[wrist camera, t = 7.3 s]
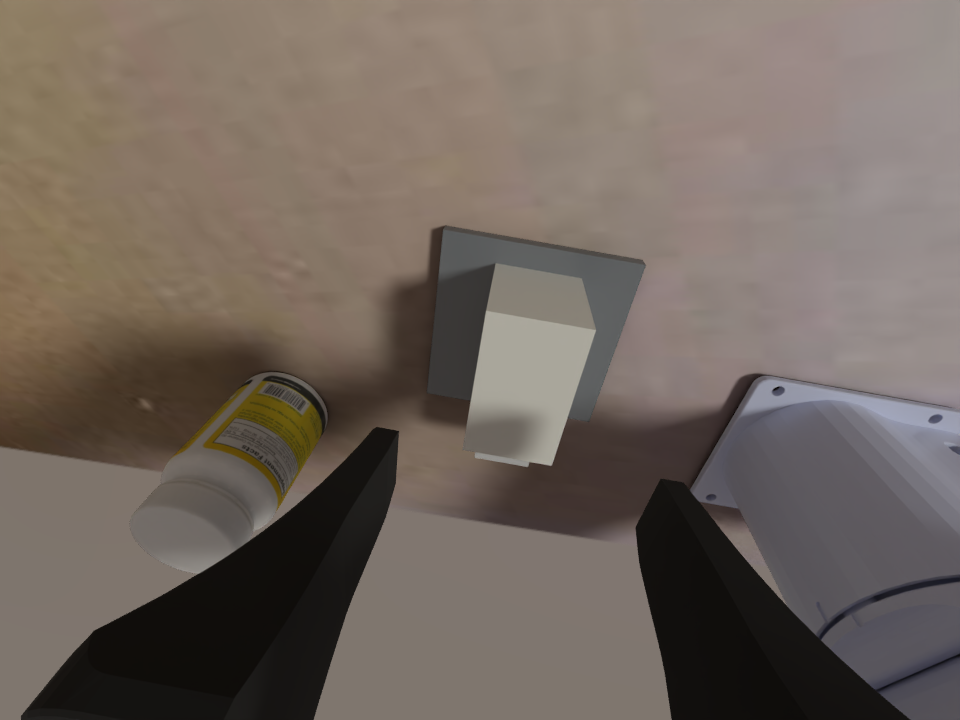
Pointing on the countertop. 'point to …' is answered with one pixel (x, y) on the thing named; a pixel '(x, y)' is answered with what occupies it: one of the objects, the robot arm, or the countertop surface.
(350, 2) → the countertop surface
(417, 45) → the countertop surface
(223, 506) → the supplement bottle
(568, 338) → the block
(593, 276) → the coaster
